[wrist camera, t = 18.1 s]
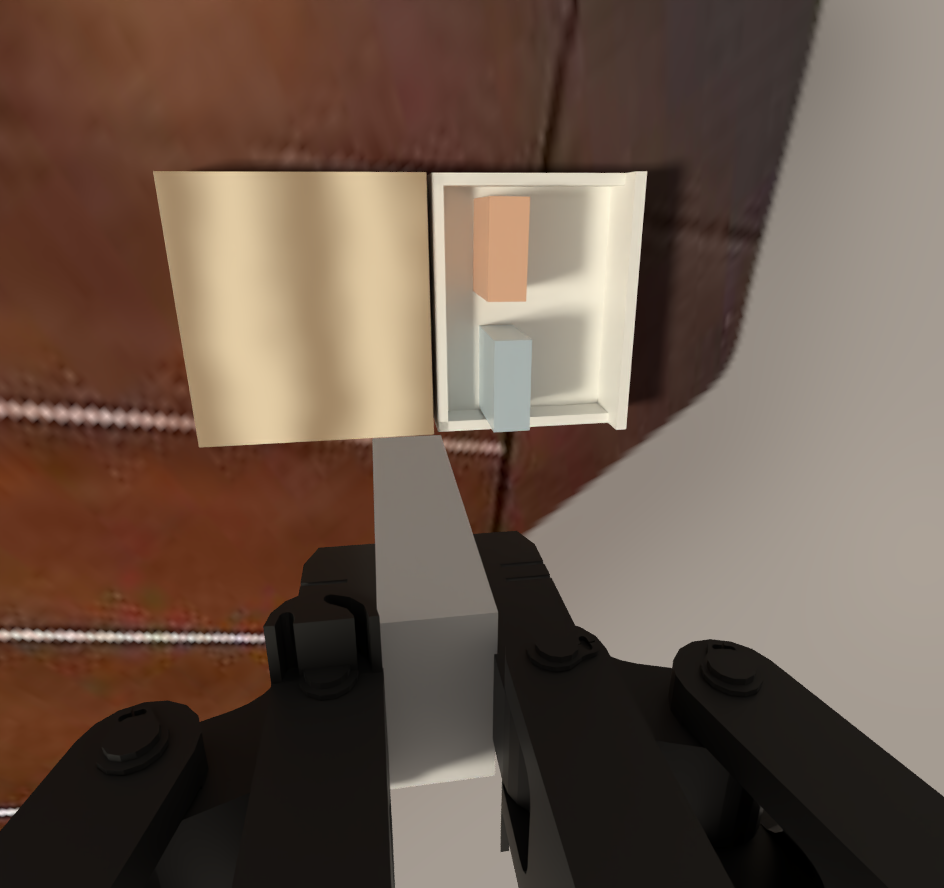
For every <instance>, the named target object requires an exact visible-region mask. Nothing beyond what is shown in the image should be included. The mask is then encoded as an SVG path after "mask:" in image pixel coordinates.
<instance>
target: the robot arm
mask: <svg viewBox="0 0 944 888" xmlns="http://www.w3.org/2000/svg"><path fill="white" fill-rule="evenodd" d="M373 477H374V516H375V544H364V545H351V546H338V547H324V548H318V549H317V551H316V552H315V553H314V554H313V555H312V556H311V557H310V558H309V559H308V561H307V562H306V563H305V564H304V567H303V573H302V578H301V587H300V590H299V596H297V597H295V598H292V599H290V600H288V601H285V602H284V603H283V604H282V605H280V606H279V607H278V608H277V609H275V610H274V611H273V612H272V613H271V614H270V616H269V617H268V619H267V621H266V623H265V625H264V626H263V628H264V635H265V642H266V649H267V656H268V663H269V670H270V678H271V688H270V689H269V690H268V691H267V692H265V693H264V694H263V695H262V696H260V697H258V698H257V699H255V700H254V701H252V702H250V703H249V704H247V705H244V706H242V707H240V708H237V709H235V710H233V711H230V712H227V713H225V714H222V715H219V716H216V717H213V718H210V719H207V720H204V721H201V722H199V717H198V715H197V714H196V713H195V712H193V711H192V710H191V709H190V708H189V707H188V706H187V705H184V704H179V703H175V702H171V701H156V702H144V703H141V704H138V705H135V706H132V707H129V708H126V709H122V710H119V711H117V712H116V713H114V714H112V715H110V716H109V717H107V718H105V719H103V720H102V721H100V722H98V723H96V724H95V725H94V726H92V727H91V728H90V729H89V730H88V731H87V732H86V733H85V734H84V735H83V736H82V737H80V738H79V739H78V740H77V741H76V742H75V743H74V744H73V745H72V747H71V748H70V749H69V750H68V751H67V753H66V754H65V755H64V756H63V757H62V759H61V760H60V761H59V762H58V763H57V764H56V766H55V767H54V768H53V769H52V770H51V772H50V773H49V774H48V775H47V776H46V778H45V779H44V780H43V781H42V782H41V783H40V785H39V786H38V787H37V788H36V789H35V791H34V792H33V793H32V794H31V795H30V797H29V798H28V799H27V800H26V801H25V802H24V804H23V805H22V806H21V807H20V808H19V810H18V811H17V812H16V813H15V814H14V816H13V817H12V818H11V819H10V820H9V821H8V823H7V824H6V825H5V826H4V827H3V829H2V830H1V831H0V888H395V880H394V858H393V857H394V856H393V835H392V816H391V799H390V789H396V788H403V787H411V786H419V785H426V784H434V783H441V782H449V781H455V780H464V779H471V778H479V777H486V776H494V775H495V751H496V755H497V760H498V763H499V768H500V772H501V777H502V804H501V806H502V808H501V852H503V851H509V846H510V850H511V855H512V859H513V864H514V869H515V873H516V877H517V882H518V887H519V888H944V797H943V796H942V795H941V794H940V793H938V792H937V791H936V790H934V789H933V788H932V787H931V786H929V785H928V784H927V783H926V782H924V781H923V780H922V779H920V778H919V777H918V776H917V775H916V774H914V773H913V772H912V771H910V770H909V769H908V768H907V767H905V766H904V765H903V764H902V763H900V762H899V761H898V760H896V759H895V758H894V757H893V756H891V755H890V754H889V753H887V752H886V751H885V750H883V748H881V747H880V746H879V745H877V744H876V743H875V742H873V741H872V740H871V739H870V738H869V737H867V736H866V735H865V734H863V733H862V732H861V731H859V730H858V729H857V728H856V727H855V726H853V725H852V724H851V723H849V722H848V721H847V720H846V719H844V718H843V717H842V716H841V715H839V714H838V713H837V712H835V711H834V710H833V709H832V708H830V707H829V706H828V705H827V704H825V703H824V702H823V701H822V700H820V699H819V698H818V697H817V696H815V695H814V694H813V693H811V692H810V691H809V690H808V689H806V688H805V687H804V686H803V685H801V684H800V683H799V682H797V681H796V680H795V679H794V678H792V677H791V676H790V675H789V674H787V673H786V672H785V671H784V670H782V669H781V668H779V667H778V666H777V665H776V664H774V663H773V662H772V661H771V660H769V659H768V658H766V657H764V656H763V655H761V654H759V653H758V652H756V651H754V650H753V649H750V648H748V647H745V646H742V645H739V644H736V643H733V642H729V641H720V640H712V639H709V640H702V641H694V642H691V643H689V644H688V645H686V646H684V647H682V648H680V649H679V651H678V653H677V655H676V656H675V658H674V660H673V667H672V668H667V667H659V666H651V665H643V664H636V663H631V662H626V661H622V660H619V659H616V658H613V657H611V656H610V655H609V653H608V651H607V649H606V648H605V646H604V645H603V644H602V643H601V642H600V641H599V639H598V638H597V637H596V636H595V635H593V634H591V633H590V632H588V631H586V630H584V629H583V628H581V627H578V626H575V624H574V622H573V620H572V618H571V616H570V615H569V613H568V610H567V608H566V606H565V604H564V603H563V600H562V598H561V596H560V594H559V592H558V590H557V588H556V586H555V584H554V582H553V581H552V578H550V574H549V572H548V570H547V568H546V566H545V564H543V560H542V558H541V556H540V554H539V552H538V550H537V548H536V546H535V544H534V543H532V542H531V541H530V540H528V539H527V538H526V537H524V536H523V535H521V534H520V533H519V532H517V531H509V532H496V533H482V534H473V533H472V530H471V527H470V524H469V521H468V518H467V515H466V512H465V508H464V505H463V502H462V499H461V496H460V493H459V490H458V487H457V484H456V481H455V478H454V474H453V471H452V468H451V465H450V462H449V459H448V456H447V453H446V450H445V447H444V444H443V441H442V437H441V435H435V436H415V437H396V438H377V439H373Z"/></svg>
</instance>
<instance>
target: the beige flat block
mask: <svg viewBox="0 0 944 888" xmlns="http://www.w3.org/2000/svg"><path fill="white" fill-rule="evenodd" d="M153 174H154V180H155V186H156V192H157V198H158V204H159V210H160V216H161V222H162V228H163V234H164V240H165V246H166V252H167V258H168V264H169V270H170V276H171V282H172V288H173V294H174V300H175V306H176V312H177V318H178V324H179V330H180V336H181V342H182V348H183V354H184V360H185V366H186V372H187V378H188V384H189V390H190V396H191V402H192V407H193V413H194V419H195V425H196V431H197V437H198V443H199V447H215V446H233V445H251V444H269V443H287V442H304V441H322V440H340V439H358V438H376V437H394V436H412V435H430V434H434V422H433V388H432V353H431V319H430V284H429V250H428V216H427V181H426V172H184V171H153Z"/></svg>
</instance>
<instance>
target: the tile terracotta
mask: <svg viewBox="0 0 944 888" xmlns="http://www.w3.org/2000/svg"><path fill="white" fill-rule="evenodd" d="M529 216H530V197H521V196H487V197H480V198H474V218H473V291H474V292H475V293H476V294H478V295H479V296H480V297H482V298H483V299H484V300H486V301H487V302H526V294H527V268H528V242H529Z"/></svg>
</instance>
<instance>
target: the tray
mask: <svg viewBox="0 0 944 888" xmlns="http://www.w3.org/2000/svg"><path fill="white" fill-rule="evenodd" d="M646 180H647V171H635V172H629V173H430V174H429V175H427V187H428V222H429V257H430V291H431V326H432V361H433V396H434V420H435V423H436V426H437V429H438V432H444V431H462V430H480V429H492V428H491V426H490V425H489V423H488V421H487V419H486V418H485V416H484V414H483V412H482V411H481V409H480V407H479V325H508V324H512V325H514V326H515V327H516V328H517V329H519V330H520V331H521V332H523V333H524V334H525V335H527V336H528V337H529V338H530V339H532V363H531V396H530V427H534V426H552V425H570V424H588V423H606V422H608V423H609V424H610V425H611V426H613V427H614V428H615V429H616V430H620V429H626V423H627V411H628V399H629V386H630V374H631V362H632V350H633V338H634V326H635V314H636V301H637V289H638V277H639V265H640V253H641V241H642V229H643V216H644V204H645V192H646ZM487 196H521V197H530V216H529V242H528V268H527V294H526V302H487V301H486V300H484V299H483V298H482V297H480V296H479V295H478V294H476V293H475V292H474V291H473V218H474V198H480V197H487Z"/></svg>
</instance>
